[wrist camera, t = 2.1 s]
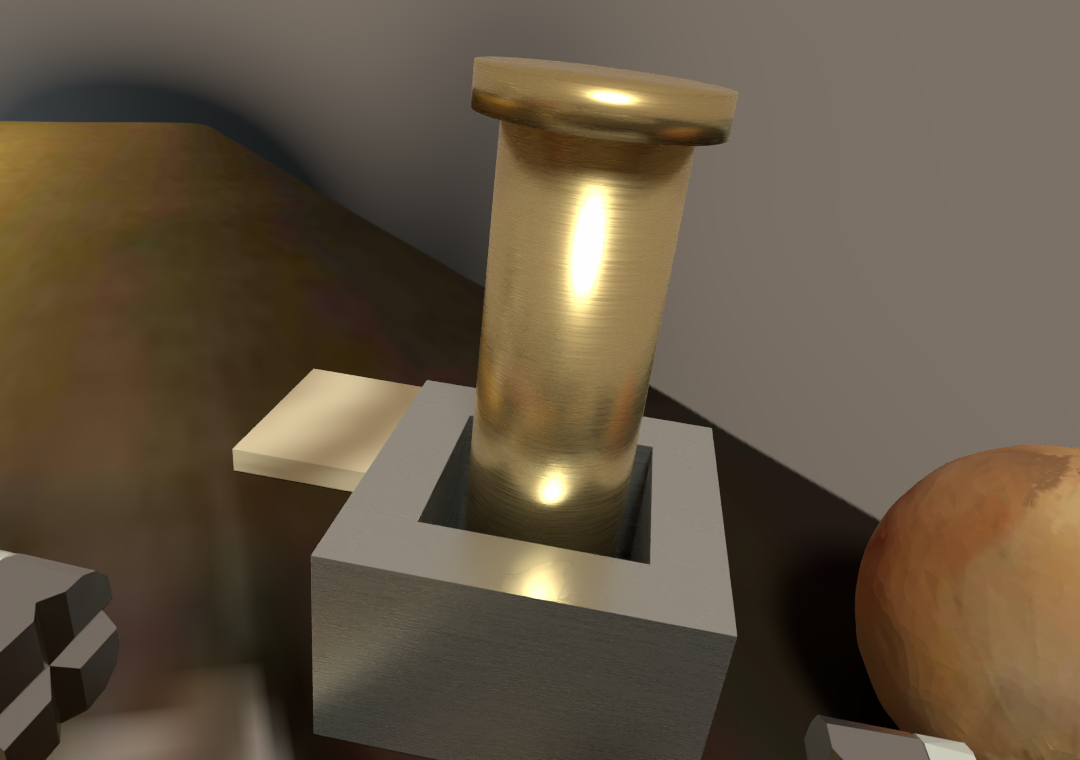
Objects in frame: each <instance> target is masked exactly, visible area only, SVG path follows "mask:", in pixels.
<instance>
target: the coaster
mask: <svg viewBox="0 0 1080 760" xmlns="http://www.w3.org/2000/svg"><path fill="white" fill-rule="evenodd" d="M421 389H422V387H418V386H412V385H406V384H400V383H394V382H388V381H382V380H376V379H371V378H365V377H359V376H353V375H347V374H341V373H335V372H329V371H323V370H318V369H313V370H312V371H311V372H310V373H309V374H308V375H307V376H306V377H305V378H304V379H303V380H302V381H301V382H300V383H299V384H298V385H297V386H296V387H295V388H294V389H293V390H292V391H291V392H290V393H289V394H288V395H287V396H286V397H285V398H284V399H283V400H282V401H281V402H280V403H279V404H278V405H277V406H276V407H275V408H274V409H273V410H272V411H271V412H270V413H269V414H268V415H267V416H266V417H265V418H264V419H263V420H262V421H261V422H259V423H258V424H257V425H256V426H255V427H254V428H253V429H252V430H251V431H250V432H249V433H248V434H247V435H246V436H245V437H244V438H243V439H242V440H241V441H240V442H239V443H238V444H237V445H236V446H235V447H234V448H233V462H234V470H235V471H241V472H246V473H252V474H257V475H263V476H268V477H274V478H279V479H285V480H290V481H296V482H301V483H307V484H312V485H318V486H323V487H329V488H334V489H340V490H345V491H351V492H353V491H354V490H355V488H356V487H357V485H358V484H359V482H360V481H361V479H362V478H363V476H364V475H365V473H366V472H367V470H368V469H369V467H370V466H371V464H372V463H373V461H374V460H375V458H376V457H377V455H378V454H379V452H380V451H381V449H382V447H383V446H384V444H385V443H386V441H387V440H388V438H389V437H390V435H391V434H392V432H393V431H394V429H395V428H396V426H397V425H398V423H399V422H400V420H401V419H402V417H403V416H404V414H405V413H406V411H407V410H408V408H409V407H410V405H411V404H412V402H413V401H414V399H415V398H416V396H417V395H418V393H419V392H420V390H421Z"/></svg>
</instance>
